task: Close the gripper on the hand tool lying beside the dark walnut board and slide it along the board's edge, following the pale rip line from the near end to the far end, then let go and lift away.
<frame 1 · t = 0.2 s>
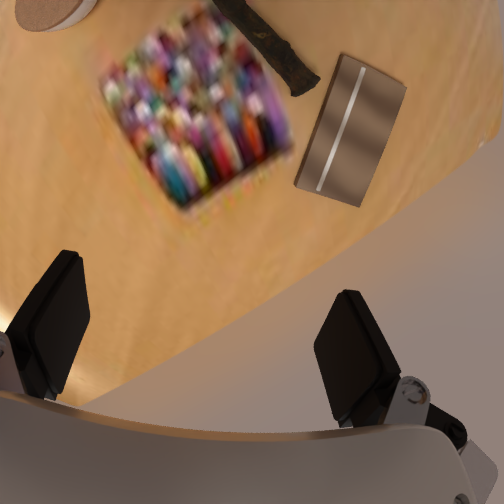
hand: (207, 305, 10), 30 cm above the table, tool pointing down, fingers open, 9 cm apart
lidded jar: (77, 1, 23), on the table
board: (350, 132, 37), on the table
hand tool: (252, 37, 30), on the table
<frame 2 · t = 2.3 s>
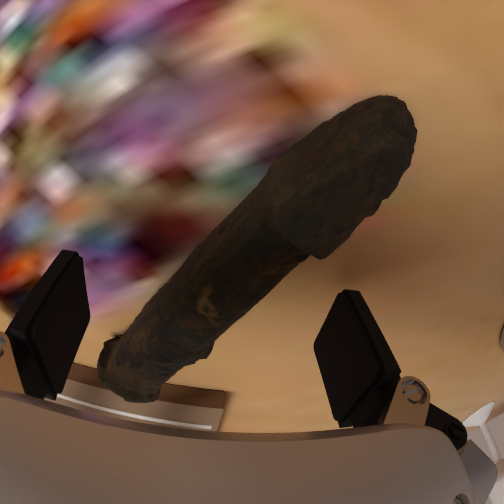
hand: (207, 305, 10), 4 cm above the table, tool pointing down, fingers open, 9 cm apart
champagne flute: (477, 413, 31), on the table
board: (102, 402, 20), on the table
hand tool: (217, 240, 14), on the table
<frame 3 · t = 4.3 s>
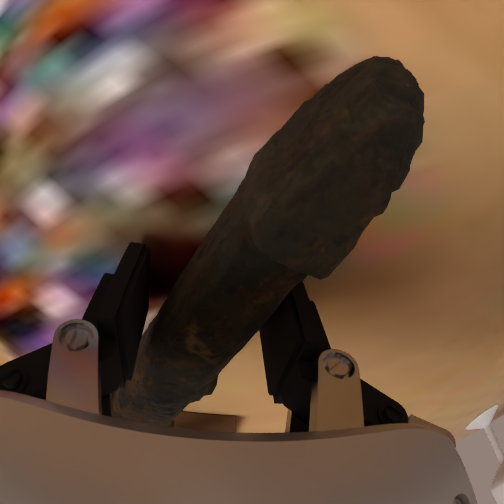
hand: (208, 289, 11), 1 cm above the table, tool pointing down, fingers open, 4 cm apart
champagne flute: (481, 416, 31), on the table
board: (105, 426, 18), on the table
hand tool: (204, 260, 12), on the table, touching gripper
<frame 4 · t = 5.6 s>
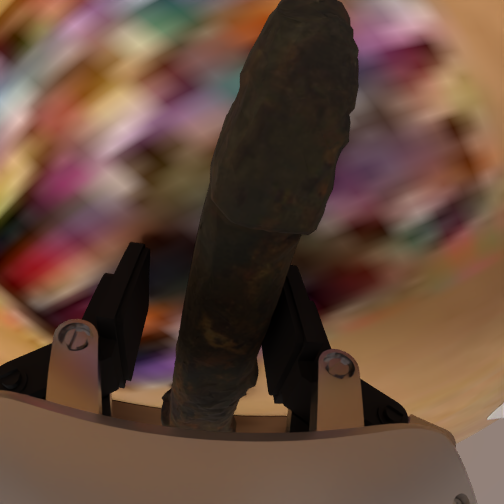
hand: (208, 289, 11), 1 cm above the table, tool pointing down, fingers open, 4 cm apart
champagne flute: (501, 407, 32), on the table
board: (193, 440, 20), on the table
hand tool: (214, 253, 12), on the table, touching gripper
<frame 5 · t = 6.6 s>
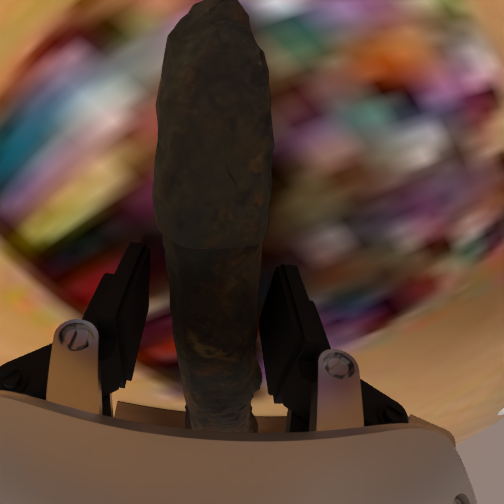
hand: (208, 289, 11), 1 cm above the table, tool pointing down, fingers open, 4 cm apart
board: (245, 443, 20), on the table
hand tool: (203, 266, 12), on the table
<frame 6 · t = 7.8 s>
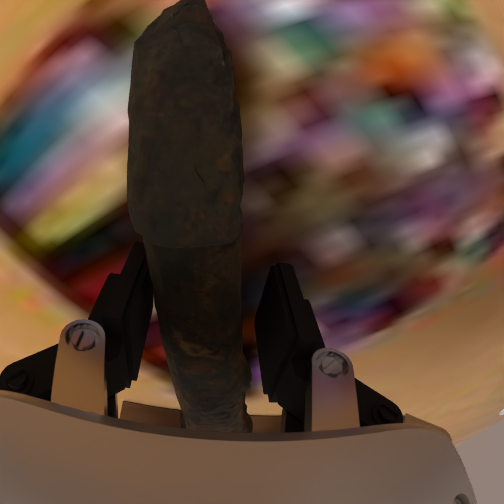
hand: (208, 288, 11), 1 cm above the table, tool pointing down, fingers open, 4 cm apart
board: (249, 442, 21), on the table
hand tool: (191, 266, 12), on the table
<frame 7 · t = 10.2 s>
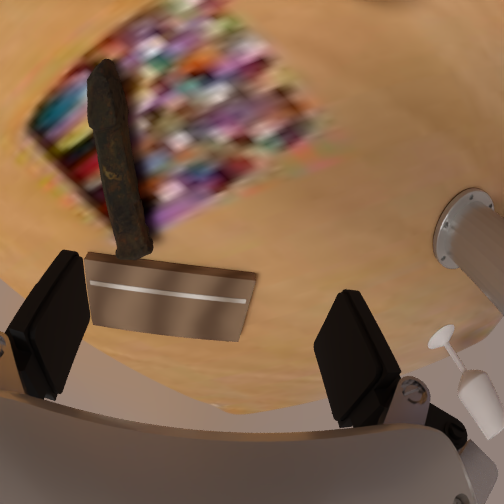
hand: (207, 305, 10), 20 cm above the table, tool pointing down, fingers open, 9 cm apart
champagne flute: (441, 336, 49), on the table
board: (166, 297, 35), on the table
hand tool: (117, 156, 26), on the table
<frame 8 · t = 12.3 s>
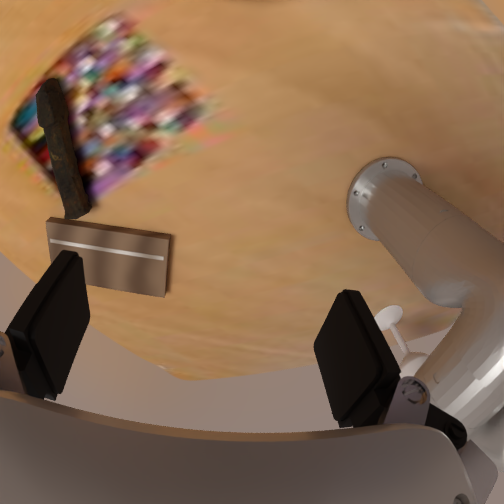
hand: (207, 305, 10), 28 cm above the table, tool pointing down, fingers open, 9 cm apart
champagne flute: (387, 317, 53), on the table
board: (106, 255, 41), on the table
hand tool: (65, 145, 32), on the table
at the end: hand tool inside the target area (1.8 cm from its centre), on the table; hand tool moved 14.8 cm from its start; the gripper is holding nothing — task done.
